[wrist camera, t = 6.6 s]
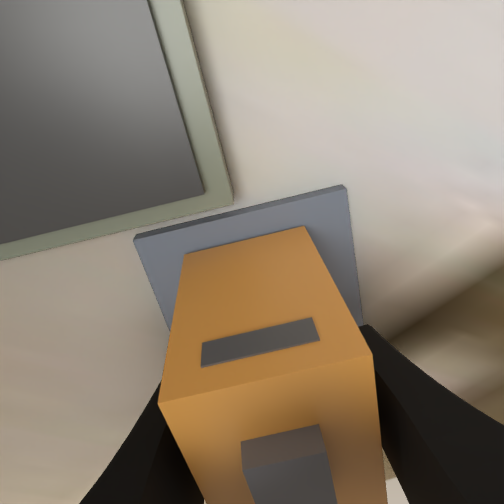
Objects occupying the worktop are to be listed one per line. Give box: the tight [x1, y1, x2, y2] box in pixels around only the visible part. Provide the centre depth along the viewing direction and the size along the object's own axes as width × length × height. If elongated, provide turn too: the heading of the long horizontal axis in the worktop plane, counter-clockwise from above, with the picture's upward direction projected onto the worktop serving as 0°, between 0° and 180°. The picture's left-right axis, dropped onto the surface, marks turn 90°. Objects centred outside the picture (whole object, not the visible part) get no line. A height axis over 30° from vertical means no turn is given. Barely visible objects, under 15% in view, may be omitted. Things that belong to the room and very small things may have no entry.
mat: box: [133, 185, 363, 331], centre depth 14 cm, size 7×8×1 cm
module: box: [157, 226, 388, 504], centre depth 10 cm, size 4×5×7 cm
